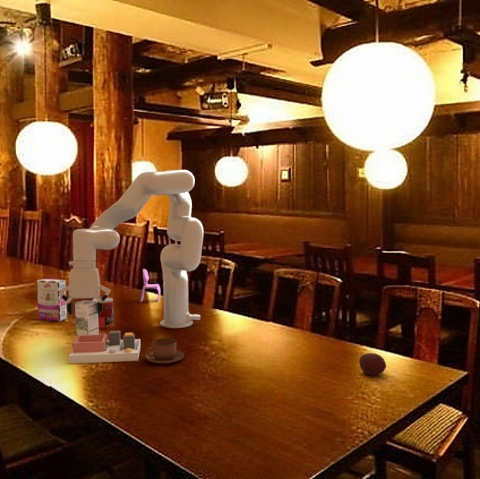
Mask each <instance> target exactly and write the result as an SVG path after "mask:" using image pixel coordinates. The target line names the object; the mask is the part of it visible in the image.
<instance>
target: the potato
mask: <svg viewBox="0 0 480 479" xmlns="http://www.w3.org/2000/svg"><path fill="white" fill-rule="evenodd" d="M358 361H359V366H360V369H361V371H362V372H363V373H365V374H366V375H369V376H377V375H378V376H379V375H381V374H383V373H384V371H385V370H386V368H387V364H386V360H385V359H384V357H382V355H381V354H380V355H379V354H378V353H374V352H368V353H363V354H362V355H361V356H360V357H359V360H358Z"/></svg>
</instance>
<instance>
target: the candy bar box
mask: <svg viewBox="0 0 480 479" xmlns="http://www.w3.org/2000/svg"><path fill="white" fill-rule="evenodd" d="M65 287H67V280H66V279H55V278H54V279H53V278H43V279H38V280H36V291H37V311H38V312H37V313H38V320H40V321H49V322H50V321H51V322H59V323H60V322H63V321H66V320H68V312H67V303H66V301H65V300H64V299H63V298H62V296H61V295H60V293H59V290H61V289H63V288H65ZM64 293H65V295H66V296H67V291H65V292H64Z"/></svg>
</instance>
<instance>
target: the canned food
mask: <svg viewBox="0 0 480 479" xmlns="http://www.w3.org/2000/svg"><path fill="white" fill-rule="evenodd" d="M91 301H95V302H99V301H98V300H97V299H96V298H92V300H91ZM114 318H115V317H114V299H113V298H112V297H107V298H106V299H105V300H104V301H103V311H102V312H101V313H100V314H98V327H99V331H101V330H102V331H103V330H104V331H105V330H110V329H112V328H114V326H115V325H114V324H115V322H114V320H115V319H114Z"/></svg>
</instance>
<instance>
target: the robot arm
mask: <svg viewBox="0 0 480 479" xmlns="http://www.w3.org/2000/svg"><path fill="white" fill-rule="evenodd" d="M195 180H196V179H195V176H194V175H193V173H192V172H191V171H189V170H187V169H168V170H164V171H144V172H141V173H140V174H138V175H137V176H136V177H135V179H134V180H133V181H132V183H131V184H130V186H128V188H127V189H126V191H125V192H124V193H123V194H122V195H121V197H120V198H119V199H118V201H116V202H115V203H113V204H111V206H110V207H108V208H107V209H106V210H104V211H103V212H102V213H101V214H100V215H98V217H97V218H96V219H95V221H94V222H93V223H92V224H91V226H90V227H89V228H77V229H75V230H74V231H73V232H72V251H73V252H72V253H73V254H72V259H73V260H71V261H68V266H71V267H72V268H71V269H70V272H69V280H68V282H69V284H68V285H66V287H65V288H63V289H61V290H59V293H60V295H61V296H62V298H63V299H64V300H65V301H66V303H67V313H68V315H69V316H72V315H73V313H74V311H73V310H74V305H73V301H72V300H73V299H95V298H96V299H97V300H98V301H99V302H98V314H100V313H101V312H102V311H103V301H104V300H105V299H106V298H109V295H110V293H111V289H110V288H108V287H107V286H104V285H102V284H101V280H100V279H101V278H100V272H99V268H97V260H96V259H97V250H104V251H105V250H107V251H108V250H113V249H115V248H116V247H118V245H119V244H120V240H121V237H120V234H119V233H118V232H117V231H116V230H115V228H116V227H118V226H119V225H120V224H122V223H124V222H126V221H128V220H131V219H133V218H135V217H136V216H138V215H139V214H140V213H141V211H142V209H143V208H144V207H145V206H146V204H147V203H148V202H149V200H150V199H151V198H152V196H167V199H168V201H169V210H168V212H169V213H168V217H167V218H168V220H167V225H166V226H167V227H166V229H167V230H166V231H167V232H166V234H167V236H168V237H169V238H170V239H171V240H174V241H178V242H180V244H177V243H171V244H167V245H165V247H163V249H162V250H161V252H160V263H161V271H162V280H163V286H162V288H163V319H162V320H160V326H161V327H163V328H166V329H184V328H187V327H191V326H192V325H193V324H194V323H193V320H196V321H198V320H199V321H200V320H201V314H197V313H194V314H192V313H190V311H189V278H188V277H189V276H188V274H187V273H188V272H193V271H195V270H196V269H197V268H198V267H199V265H200V262H201V259H202V250H203V243H204V242H203V241H204V226H203V223H202V222H201V220H199V219H198V218H196V217H192V208H193V205H192V199H191V195H190V193H189V192H190V191H192V189H193V188H194V187H195ZM65 291H66V292H67V291H68V296H67V294H66V295H65V293H64V292H65ZM101 291H103V292H105V293H104V295H103V296H101Z"/></svg>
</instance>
